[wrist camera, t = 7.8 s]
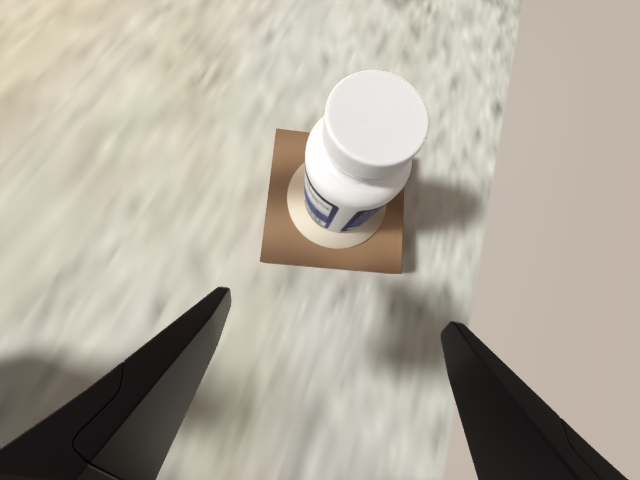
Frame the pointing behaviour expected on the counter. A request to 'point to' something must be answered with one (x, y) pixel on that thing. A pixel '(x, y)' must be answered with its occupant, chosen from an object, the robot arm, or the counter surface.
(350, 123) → the pill bottle
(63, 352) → the counter surface
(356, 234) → the walnut base
